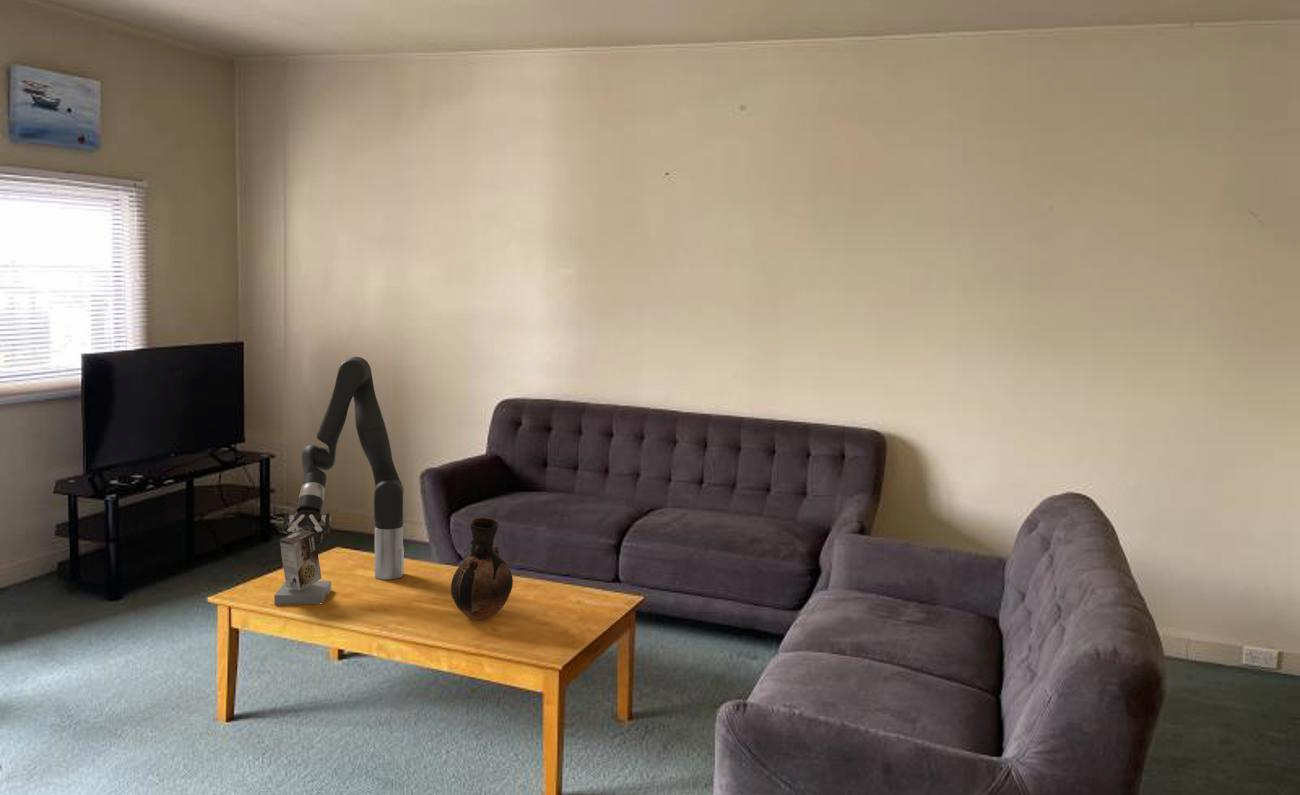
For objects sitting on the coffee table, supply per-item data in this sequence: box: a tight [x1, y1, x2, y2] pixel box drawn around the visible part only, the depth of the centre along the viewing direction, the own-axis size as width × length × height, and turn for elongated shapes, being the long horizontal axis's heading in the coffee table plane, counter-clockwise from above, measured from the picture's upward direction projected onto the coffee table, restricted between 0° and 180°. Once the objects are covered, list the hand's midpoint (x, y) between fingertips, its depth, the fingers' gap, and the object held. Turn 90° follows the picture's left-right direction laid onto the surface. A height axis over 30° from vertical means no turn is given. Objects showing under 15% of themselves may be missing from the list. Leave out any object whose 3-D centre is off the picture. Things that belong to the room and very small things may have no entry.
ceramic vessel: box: [450, 517, 514, 621], centre depth 290 cm, size 21×18×30 cm
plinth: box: [273, 580, 332, 605], centre depth 304 cm, size 14×14×3 cm
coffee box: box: [278, 528, 322, 591], centre depth 301 cm, size 9×6×16 cm
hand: (303, 544), depth 302 cm, fingers closed on coffee box, 8 cm apart
